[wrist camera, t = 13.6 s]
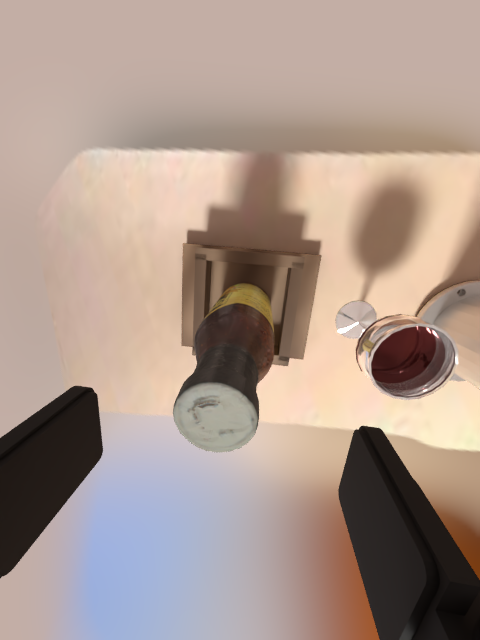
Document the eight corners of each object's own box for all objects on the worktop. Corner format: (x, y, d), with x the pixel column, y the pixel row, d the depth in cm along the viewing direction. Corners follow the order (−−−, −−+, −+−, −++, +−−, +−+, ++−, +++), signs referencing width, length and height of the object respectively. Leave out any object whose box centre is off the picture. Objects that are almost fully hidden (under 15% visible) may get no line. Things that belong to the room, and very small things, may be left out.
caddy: (318, 254, 29) (328, 256, 24) (301, 354, 32) (307, 370, 28) (186, 243, 30) (174, 242, 25) (185, 341, 33) (173, 355, 29)
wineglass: (389, 336, 31) (464, 388, 19) (335, 351, 32) (376, 409, 20) (378, 286, 29) (453, 310, 18) (322, 304, 30) (358, 337, 19)
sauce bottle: (226, 275, 29) (155, 327, 10) (276, 287, 29) (304, 364, 10) (215, 326, 31) (140, 450, 12) (263, 337, 31) (264, 482, 12)
